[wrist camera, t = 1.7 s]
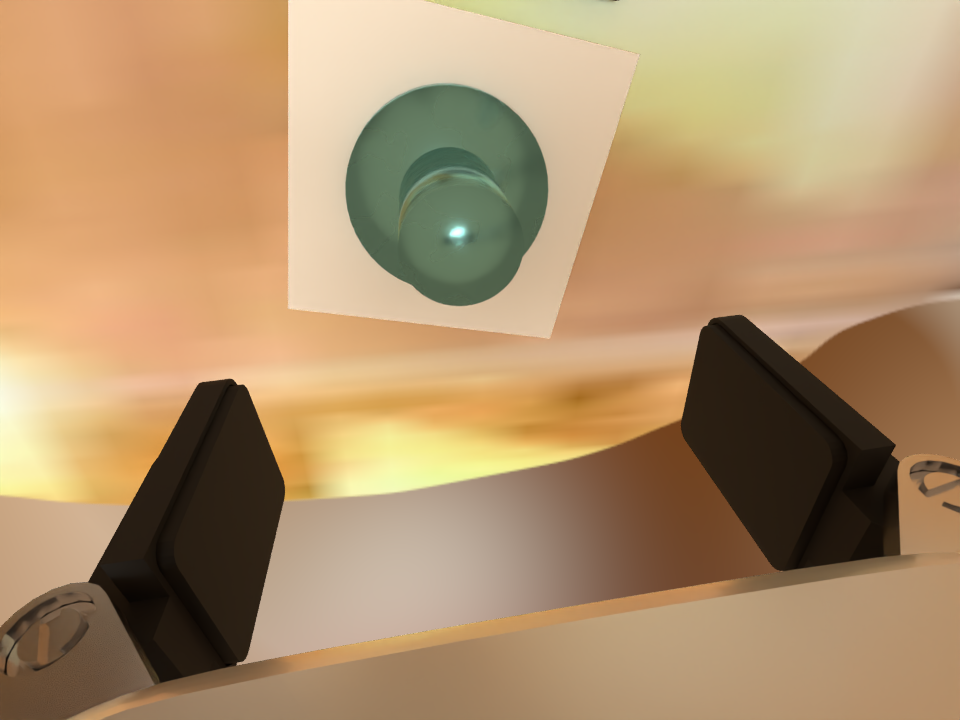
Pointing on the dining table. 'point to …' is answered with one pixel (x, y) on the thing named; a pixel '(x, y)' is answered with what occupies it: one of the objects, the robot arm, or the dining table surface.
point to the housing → (421, 61)
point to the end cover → (447, 191)
